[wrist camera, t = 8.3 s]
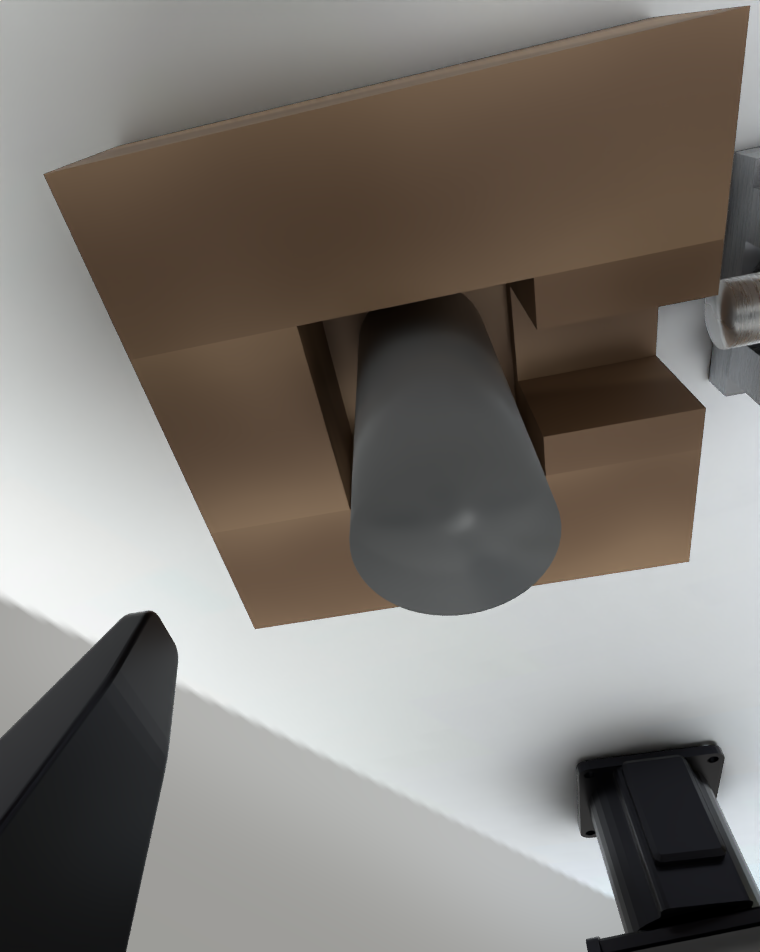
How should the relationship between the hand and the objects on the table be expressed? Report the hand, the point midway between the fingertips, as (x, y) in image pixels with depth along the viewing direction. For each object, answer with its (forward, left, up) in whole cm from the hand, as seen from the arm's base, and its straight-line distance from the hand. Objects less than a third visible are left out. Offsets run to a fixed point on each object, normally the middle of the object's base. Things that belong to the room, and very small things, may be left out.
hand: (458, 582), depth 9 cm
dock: (0, 0, -10) cm, 10 cm away
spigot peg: (0, 0, -9) cm, 9 cm away
